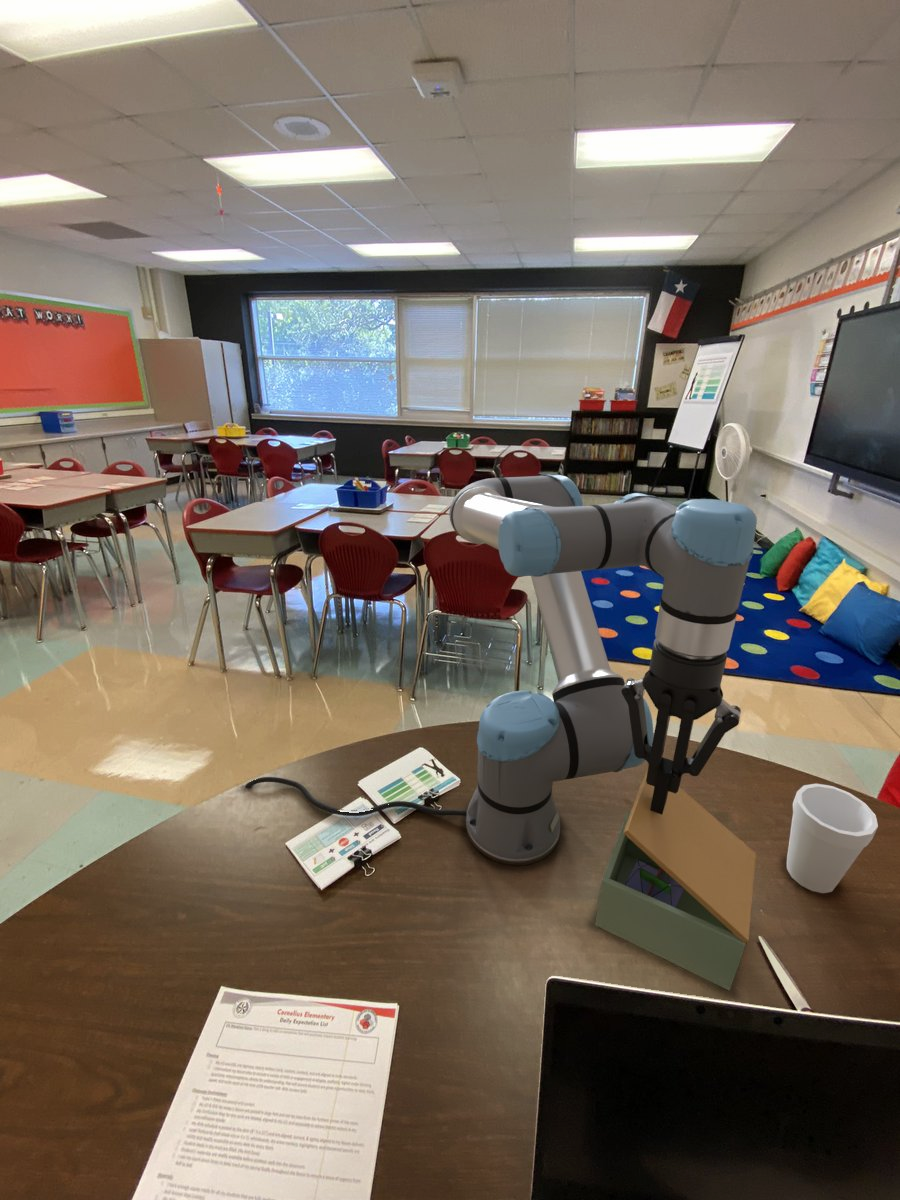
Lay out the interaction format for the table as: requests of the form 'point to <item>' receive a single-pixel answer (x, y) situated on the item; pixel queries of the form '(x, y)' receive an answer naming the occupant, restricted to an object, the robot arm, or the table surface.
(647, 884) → the geometric puzzle
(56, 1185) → the table surface
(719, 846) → the lid
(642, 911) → the chest
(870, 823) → the foam cup
